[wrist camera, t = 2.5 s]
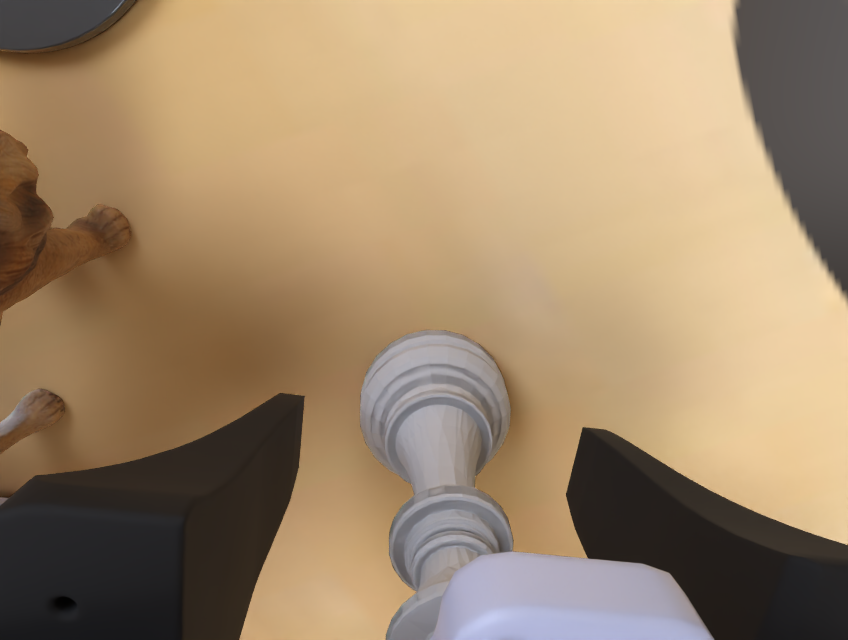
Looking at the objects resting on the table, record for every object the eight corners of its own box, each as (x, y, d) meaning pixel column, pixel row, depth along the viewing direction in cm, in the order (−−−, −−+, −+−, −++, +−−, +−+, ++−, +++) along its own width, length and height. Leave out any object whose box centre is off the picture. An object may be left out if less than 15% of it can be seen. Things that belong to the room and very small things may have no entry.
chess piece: (530, 408, 17) (693, 733, 7) (417, 482, 18) (433, 869, 8) (449, 298, 16) (519, 516, 6) (332, 382, 17) (233, 694, 7)
